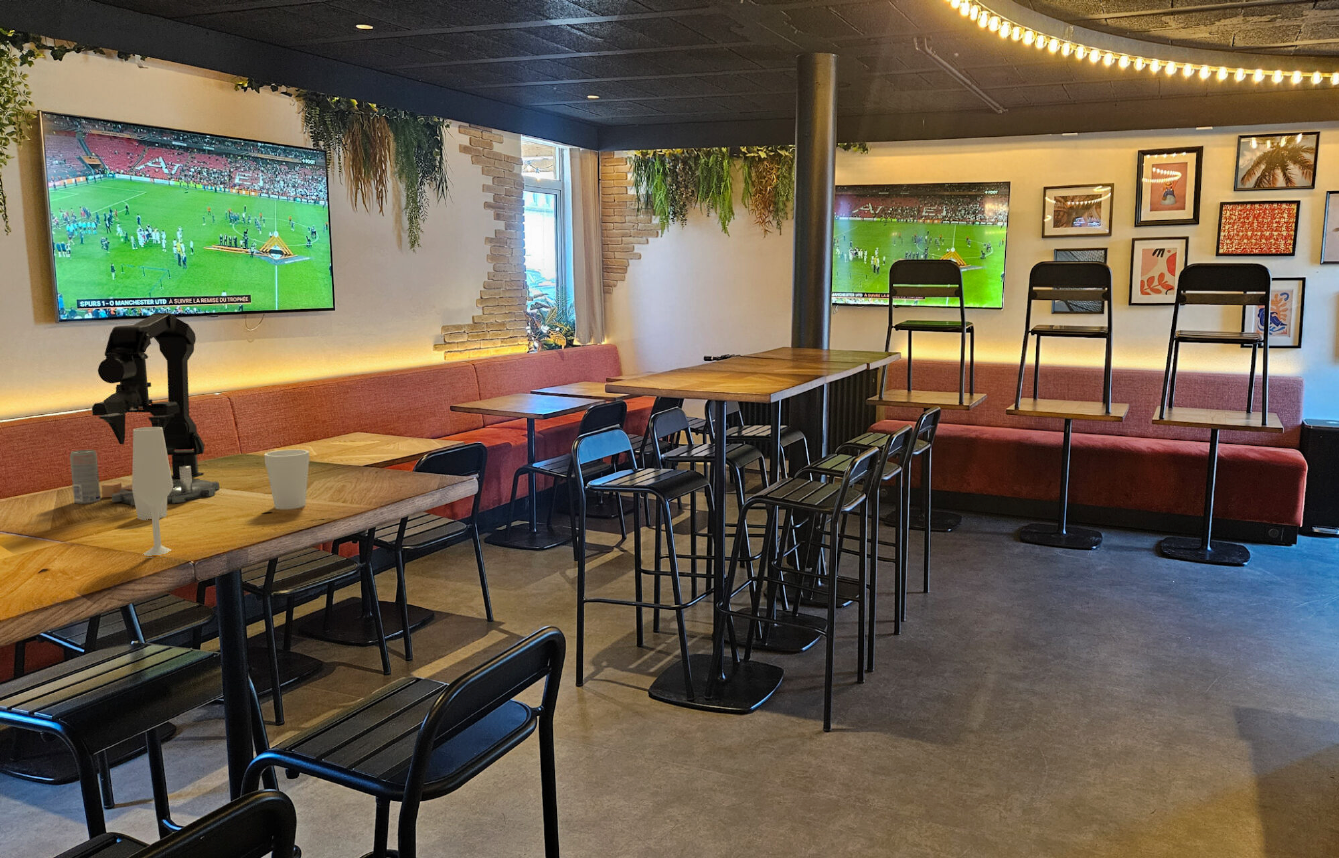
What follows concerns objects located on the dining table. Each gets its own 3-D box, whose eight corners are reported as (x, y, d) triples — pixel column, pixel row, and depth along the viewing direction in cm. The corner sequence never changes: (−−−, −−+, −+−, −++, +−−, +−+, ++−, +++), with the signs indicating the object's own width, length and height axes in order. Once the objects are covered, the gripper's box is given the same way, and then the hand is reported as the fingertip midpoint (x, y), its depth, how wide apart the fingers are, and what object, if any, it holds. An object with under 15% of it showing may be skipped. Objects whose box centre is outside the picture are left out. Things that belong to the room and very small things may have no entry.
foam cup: (260, 510, 219) (257, 453, 217) (300, 503, 225) (296, 448, 224) (280, 516, 212) (276, 458, 210) (320, 509, 219) (316, 452, 217)
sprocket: (220, 482, 248) (217, 452, 247) (218, 500, 227) (216, 466, 226) (117, 490, 239) (115, 458, 237) (106, 509, 218) (103, 474, 217)
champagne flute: (151, 550, 185) (140, 426, 181) (185, 550, 184) (175, 426, 181) (130, 560, 178) (119, 431, 175) (166, 560, 178) (155, 431, 174)
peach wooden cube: (110, 494, 236) (109, 482, 235) (122, 495, 236) (121, 483, 235) (102, 497, 233) (101, 485, 232) (114, 497, 233) (113, 485, 232)
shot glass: (176, 515, 214) (174, 483, 213) (157, 522, 208) (154, 490, 207) (147, 514, 215) (145, 483, 214) (127, 521, 208) (124, 489, 207)
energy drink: (97, 498, 232) (92, 448, 231) (103, 501, 228) (99, 451, 227) (71, 501, 229) (66, 451, 227) (77, 505, 225) (72, 454, 223)
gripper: (72, 382, 222) (79, 449, 225) (149, 382, 221) (155, 450, 223) (105, 378, 233) (110, 442, 236) (178, 378, 232) (183, 442, 234)
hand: (139, 444), depth 232 cm, fingers open, 8 cm apart
